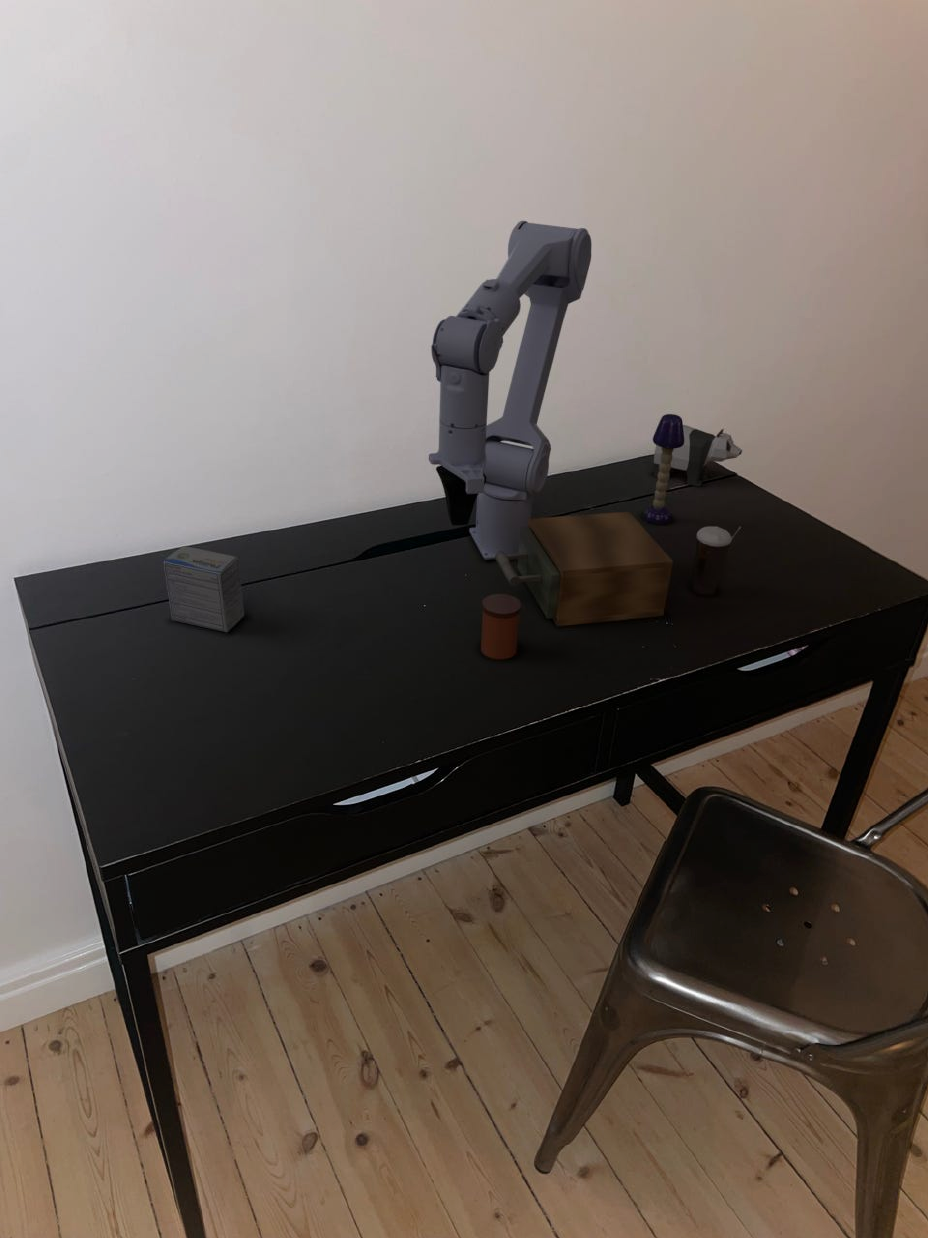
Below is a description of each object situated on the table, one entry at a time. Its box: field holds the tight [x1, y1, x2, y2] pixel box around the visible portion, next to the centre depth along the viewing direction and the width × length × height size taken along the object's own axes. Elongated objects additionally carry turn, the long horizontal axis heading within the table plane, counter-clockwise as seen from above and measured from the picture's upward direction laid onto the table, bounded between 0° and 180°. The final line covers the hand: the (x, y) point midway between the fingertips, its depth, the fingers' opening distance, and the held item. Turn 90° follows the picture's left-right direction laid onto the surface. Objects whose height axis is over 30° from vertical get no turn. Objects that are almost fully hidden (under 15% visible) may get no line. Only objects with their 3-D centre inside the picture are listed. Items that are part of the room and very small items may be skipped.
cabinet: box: [528, 511, 674, 627], centre depth 127 cm, size 15×15×8 cm
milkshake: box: [691, 525, 742, 596], centre depth 128 cm, size 4×5×10 cm
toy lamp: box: [643, 413, 684, 525], centre depth 145 cm, size 5×5×17 cm
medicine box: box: [162, 545, 245, 633], centre depth 117 cm, size 8×4×9 cm, turn 71°
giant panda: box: [653, 424, 743, 488], centre depth 160 cm, size 15×6×10 cm, turn 61°
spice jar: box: [480, 593, 522, 660], centre depth 114 cm, size 5×5×6 cm
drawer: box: [494, 527, 561, 620], centre depth 126 cm, size 18×13×6 cm
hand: (458, 522), depth 122 cm, fingers closed
